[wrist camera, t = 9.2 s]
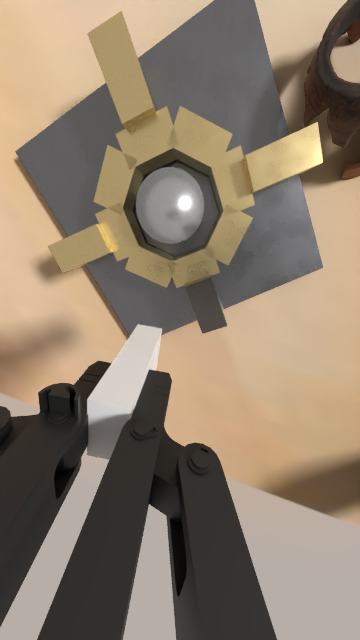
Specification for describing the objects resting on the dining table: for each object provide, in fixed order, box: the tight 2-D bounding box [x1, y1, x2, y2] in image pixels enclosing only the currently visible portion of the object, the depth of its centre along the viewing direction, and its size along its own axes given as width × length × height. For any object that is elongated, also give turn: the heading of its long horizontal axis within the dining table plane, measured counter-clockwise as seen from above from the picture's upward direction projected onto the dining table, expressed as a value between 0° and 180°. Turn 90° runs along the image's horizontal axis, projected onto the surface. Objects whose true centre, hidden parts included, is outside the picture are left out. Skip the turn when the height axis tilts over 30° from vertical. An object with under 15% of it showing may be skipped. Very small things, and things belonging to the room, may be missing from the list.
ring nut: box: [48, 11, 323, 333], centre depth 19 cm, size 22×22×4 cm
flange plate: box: [15, 0, 323, 335], centre depth 19 cm, size 22×22×6 cm
